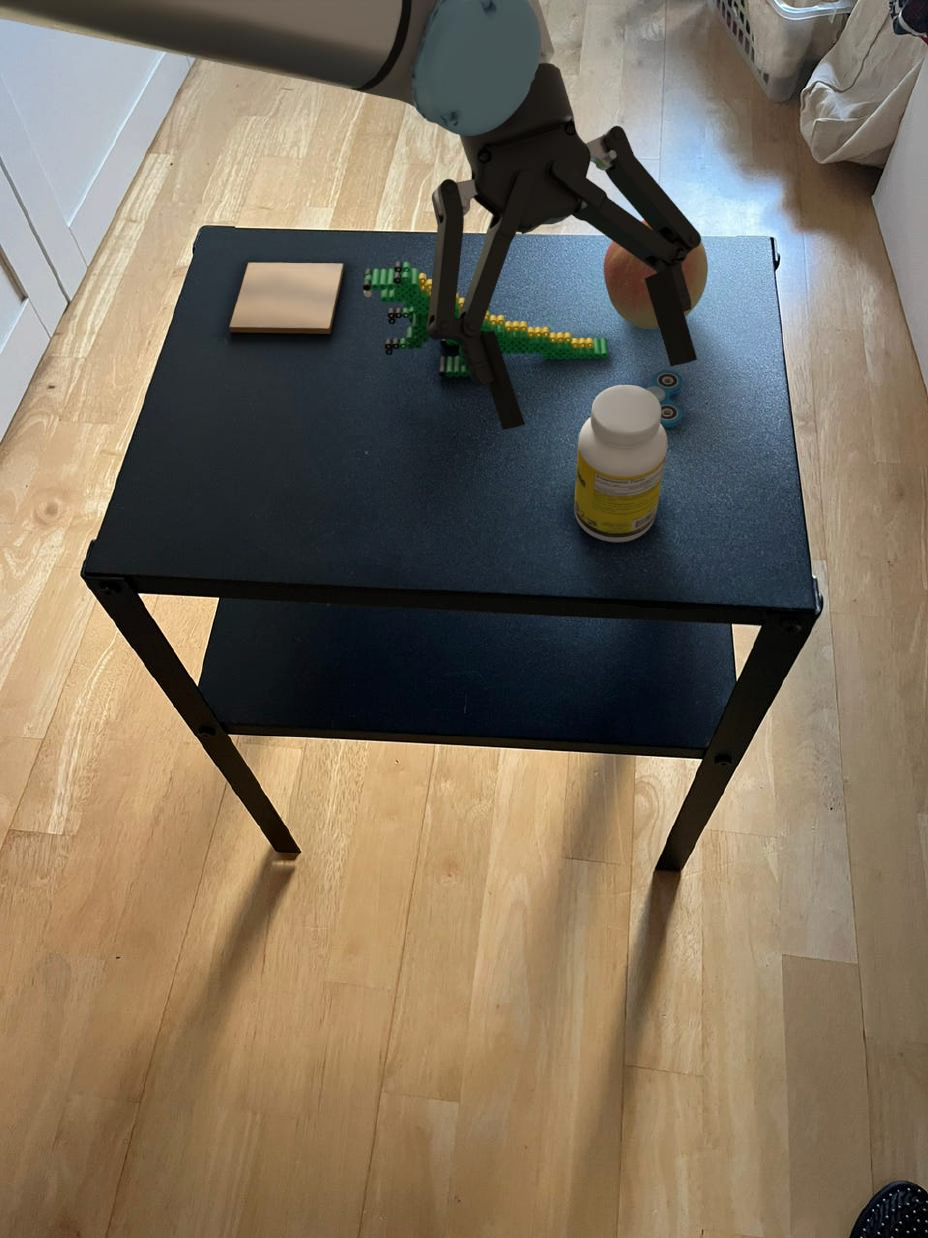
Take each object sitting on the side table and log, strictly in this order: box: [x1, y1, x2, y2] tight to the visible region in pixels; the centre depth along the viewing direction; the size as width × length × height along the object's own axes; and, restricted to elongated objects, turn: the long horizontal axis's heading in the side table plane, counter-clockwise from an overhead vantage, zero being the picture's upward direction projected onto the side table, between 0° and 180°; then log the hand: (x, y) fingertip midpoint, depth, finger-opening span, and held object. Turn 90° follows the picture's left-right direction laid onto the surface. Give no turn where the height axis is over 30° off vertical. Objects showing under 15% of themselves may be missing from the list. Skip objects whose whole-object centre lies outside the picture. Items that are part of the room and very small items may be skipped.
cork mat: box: [229, 262, 345, 335], centre depth 94 cm, size 9×9×1 cm
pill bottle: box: [573, 384, 668, 543], centre depth 74 cm, size 6×6×11 cm
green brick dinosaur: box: [362, 260, 609, 378], centre depth 86 cm, size 20×6×9 cm, turn 89°
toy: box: [621, 369, 684, 428], centre depth 85 cm, size 6×6×1 cm
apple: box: [603, 219, 709, 330], centre depth 88 cm, size 9×9×8 cm
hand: (600, 395), depth 73 cm, fingers open, 13 cm apart
